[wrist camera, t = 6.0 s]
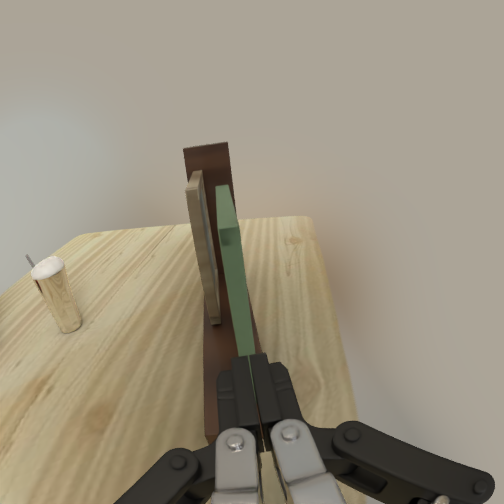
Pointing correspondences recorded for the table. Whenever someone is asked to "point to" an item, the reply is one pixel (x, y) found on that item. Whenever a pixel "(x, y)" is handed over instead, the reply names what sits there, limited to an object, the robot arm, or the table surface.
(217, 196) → the panel
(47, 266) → the milkshake
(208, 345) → the window frame
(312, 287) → the table surface
